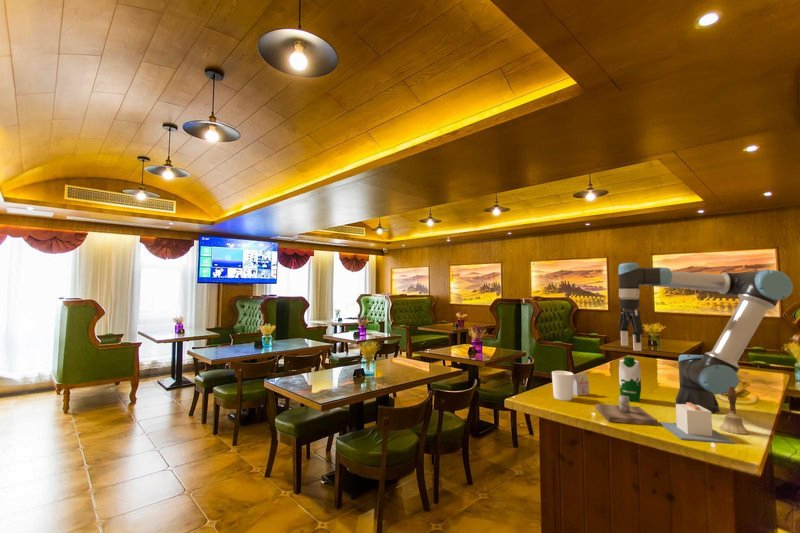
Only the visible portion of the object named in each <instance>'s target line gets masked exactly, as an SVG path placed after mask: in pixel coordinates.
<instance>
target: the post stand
mask: <svg viewBox="0 0 800 533" xmlns="http://www.w3.org/2000/svg"><path fill="white" fill-rule="evenodd" d="M618 403H619V404H618V405H617V404H601V403H595V410H596V411H597V412H598V413H600V415H601V416H602V417H604V418H605V420H606V421H607V422H608V423H614V422H621V423H620V424H628V423H636V424H635V425H643V424H648V425H647V426H659V421H658V419H656V418H655V417H653V416H652V414H650V413H648V412H647V411H646V410H644V409H643V408H641V407H640V406H634V405H632V406H631V405H630V401H629V397H628V396H623V395H621V394H620V395H619V396H618Z"/></svg>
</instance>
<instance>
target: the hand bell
mask: <svg viewBox="0 0 800 533" xmlns="http://www.w3.org/2000/svg"><path fill="white" fill-rule="evenodd" d="M726 395H727V399H728V402H729V413H726V414H725V415H724V422H722V424H721V425H720V426H719V429H720V430H722V431H723V432H726V433H731V434H735V435H742V436H743V435H749V434H750V431H749V430H748V429H747V428H746V427H745V425H744V423H743V420H742V416H740V415H738V414H737V410H736V402H737V398H738V396H737V392H736V389H734V387H733V386H729V389H728V393H726Z"/></svg>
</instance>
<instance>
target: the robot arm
mask: <svg viewBox="0 0 800 533" xmlns="http://www.w3.org/2000/svg"><path fill="white" fill-rule="evenodd" d="M617 271H618V273H617V275H618V298H620V299H619V300H618V301H619V302H618V303H619V308H621V309H620V316H619V321H618V329H619V331H620V345H621V346H622V347H629V325H630V326H631V329H632V334H631V335H632V344H633V347H632V348H633V351H636V352H639V351H640V352H642V334H644V328H643V325H642V320H641V316H640V310H636V309H640V308H641V306H640V303H641V302H640V299H639V298H640V294H641V291H640V287H642V286H643V287H644V286H646V287H657V288H658V287H659V288H660V287H662V288H670V289H671V288H672V289H681V290H682V289H683V290H696V291H709V292H718V293H719V294H721V295H727V296H729V295H730V296H734V297H735V296H736V297H738V299H739V302H738V304H737V306H736V308H735V309H734V311H733V313H732V314H731V317H730V318H729V320H728V321H727V324H726V326H725V327H724V328H723V330H722V332H721V334H720V335H719V336H718V337H719V338H718V339H717V341H716V342H715V344H714V346H713V348H712V350H711V351H708V352H704V354H700V355H699V354H680V355H679V356H678V361H677V363H678V378H679V388H678V391H677V394H676V396H675V405H676V404H686V402H690V403H692V404H694V405H699V406H701V407H703V408H705V409H707V410H709V411H711V414H712V413H719V412H720V405H719V403H718V400H717V398H716V396H715V394H717V395H725V394H726V395H727V393H728V389H729V386H733V387H734V389H735V390H736V389H737V387H738V385H739V383H740V379H739V375H738V372H739V370H740V369H741V368H740V365H739V363H738V362H739V359H741V356H742V354H743V353H744V351H745V349H747V347H748V344H749V343H750V341H751V339H752V337H753V336H754V335H755V332H756V330H757V329H758V327H759V325H760V324H761V323H762V320H763V319H764V316H765V315H766V313H767V311H769V310H772V309H775V308H776V306H777V304H778V303H779V301H780V300H784V299H786V298H788V297H789V296H790V295H791V294H792V292H793V288H794V285H793V282H792V281H791V278H790V277H789V276H788V275H787V274H786V273H784V272H782V271H780V270H777V269H762V270H752V271H751V270H749V271H741V272H722V273H720V274H719V273H718V274H715V273H714V274H713V273H703V272H701V273H700V272H689V271H688V272H687V271H674V270H673V271H672V270H671V269H670V267H639V264H638V263H637V262H625V263H624V262H623V263H620V264H619V265H618V270H617Z"/></svg>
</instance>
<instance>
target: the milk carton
mask: <svg viewBox="0 0 800 533" xmlns="http://www.w3.org/2000/svg"><path fill="white" fill-rule="evenodd" d="M623 358H624V359H623ZM623 358H622V359H619V364H618V379H619V380H618V381H619V382H618V384H619V391H620V393H619V394H620V395H623V396H628V397H629V402H632V401H633V403H640V399H641V394H642V379H641V378H642V377H641V364H640V361H639V360H635V358H634V357H632V356H624V357H623Z"/></svg>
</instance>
